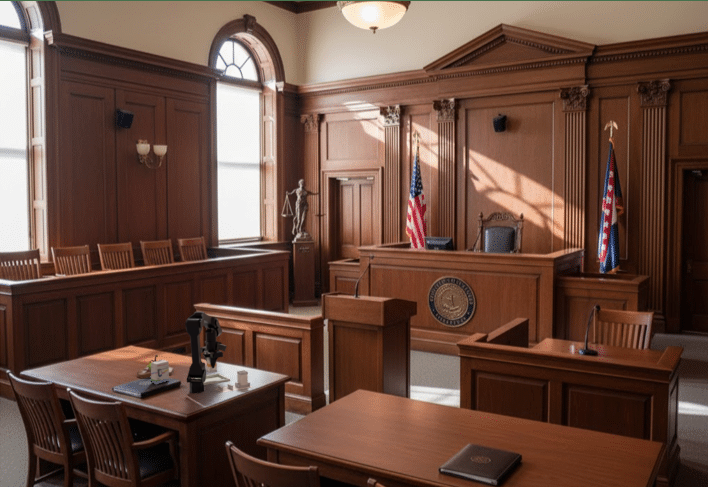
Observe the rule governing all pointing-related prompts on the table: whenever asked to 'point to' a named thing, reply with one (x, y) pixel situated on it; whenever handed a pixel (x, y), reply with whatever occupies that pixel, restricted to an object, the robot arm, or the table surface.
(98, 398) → the table surface
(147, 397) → the table surface
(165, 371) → the ink box
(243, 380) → the plain fuse
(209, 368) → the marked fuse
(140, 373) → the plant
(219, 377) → the tray
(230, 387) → the block
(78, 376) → the table surface
